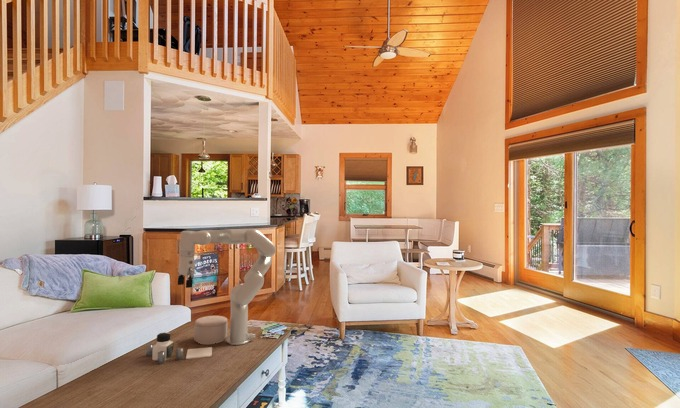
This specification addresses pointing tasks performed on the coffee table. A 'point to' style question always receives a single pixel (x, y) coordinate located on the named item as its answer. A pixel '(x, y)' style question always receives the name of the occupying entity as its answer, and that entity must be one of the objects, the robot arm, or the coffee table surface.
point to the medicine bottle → (163, 346)
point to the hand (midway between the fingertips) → (184, 286)
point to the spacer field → (163, 354)
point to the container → (210, 329)
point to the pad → (199, 353)
